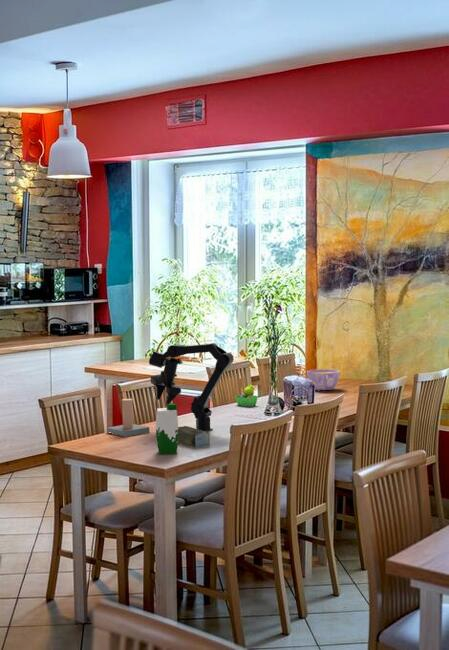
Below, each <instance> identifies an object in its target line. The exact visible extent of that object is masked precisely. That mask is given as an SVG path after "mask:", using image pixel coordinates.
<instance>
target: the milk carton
mask: <svg viewBox="0 0 449 650" xmlns="http://www.w3.org/2000/svg"><path fill="white" fill-rule="evenodd" d="M177 406H178V405H177V403H173V402H171V403H170V404H167V406H166V407H161V408H160V407H158V408H156V417H155V418H156V419H155V436H156V437H155V438H156V446H157V450H158V453H159V454H158V455H177V454H178V446H179V443H178V427H179V420H178V407H177Z"/></svg>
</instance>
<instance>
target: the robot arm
mask: <svg viewBox="0 0 449 650" xmlns="http://www.w3.org/2000/svg"><path fill="white" fill-rule="evenodd" d="M200 353H203V354H204V353H209V354H210V355H211V356H212V357H213V359H215V360H216V362H215V367H214V371H213V372H212V374H211V375H210V378H209V379H208V381H207V383H206V385H205V387H204V388H203V391H202V392H201V394H200V395H199V394H198V395H196V396H195V397H194V399H193V401H192V402H191V403H190V405H191V406H190V410H191V412H192V414H193V415H194V417H195V419H196V420H195V429H199V430H202V431H205V432H208V431H213V430H214V428H211V416H212V413H213V411H212V410H211V409H210V408H209V403H210V398H211V396H212V394H213V393H214V391H215V388H216V387H217V385H218V383H219V382H220V380H221V377H222V376H223V375H224V373H225V372H226V371H227V370H228V369H229V368H230V366H231V365H232V364H233V363H234V360H235V359H234V355H233V354H231V352H227V351H226V350H225V349H223V348H221V347H220V346H218V345H217V344H216V343H215V342H211V343H204V344H192V345H185V344H172V345H169V346H168V347H167V349H166V351H165V352H163V353H161V352H158V351H156V350H154V351H152V354H151V356H150V357H149V359H148V363H149V366H153V367H156V368H159V369H162V368H163V367H164V368H163V370H161V371H160V373H159V374H155V375H151V376H150V383H151V384H152V385H153V386H154V387H155V391H156V392H155V393H156V400H157V401H159V400H160V399H161V397H162V395H163V394H164V391H165V393H166V399H165V406H166V407H167V404H171V403H172V402H173V400H174V399H175V398H176V397H177V396H179V395H181V394H182V388H181V387H179V386H177V385H176V382H175V381H174V380H175V379H176V378H177V376H178V374H177V369H178V365H182V364H183V361H182V359H181V358H180V357H181V356H184V355H191V354H200ZM177 357H178V358H177ZM175 377H176V378H175Z"/></svg>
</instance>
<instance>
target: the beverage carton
mask: <svg viewBox="0 0 449 650" xmlns="http://www.w3.org/2000/svg"><path fill="white" fill-rule="evenodd" d="M210 434H211V433H210V432H208V431H202V430H199V429H197V428H196V427H195V428H194V427H191V426H188V425H184V426H178V444H181V445H183V446H187V447H191V448H194V449H199V448H205V447H209V446H211V435H210Z"/></svg>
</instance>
